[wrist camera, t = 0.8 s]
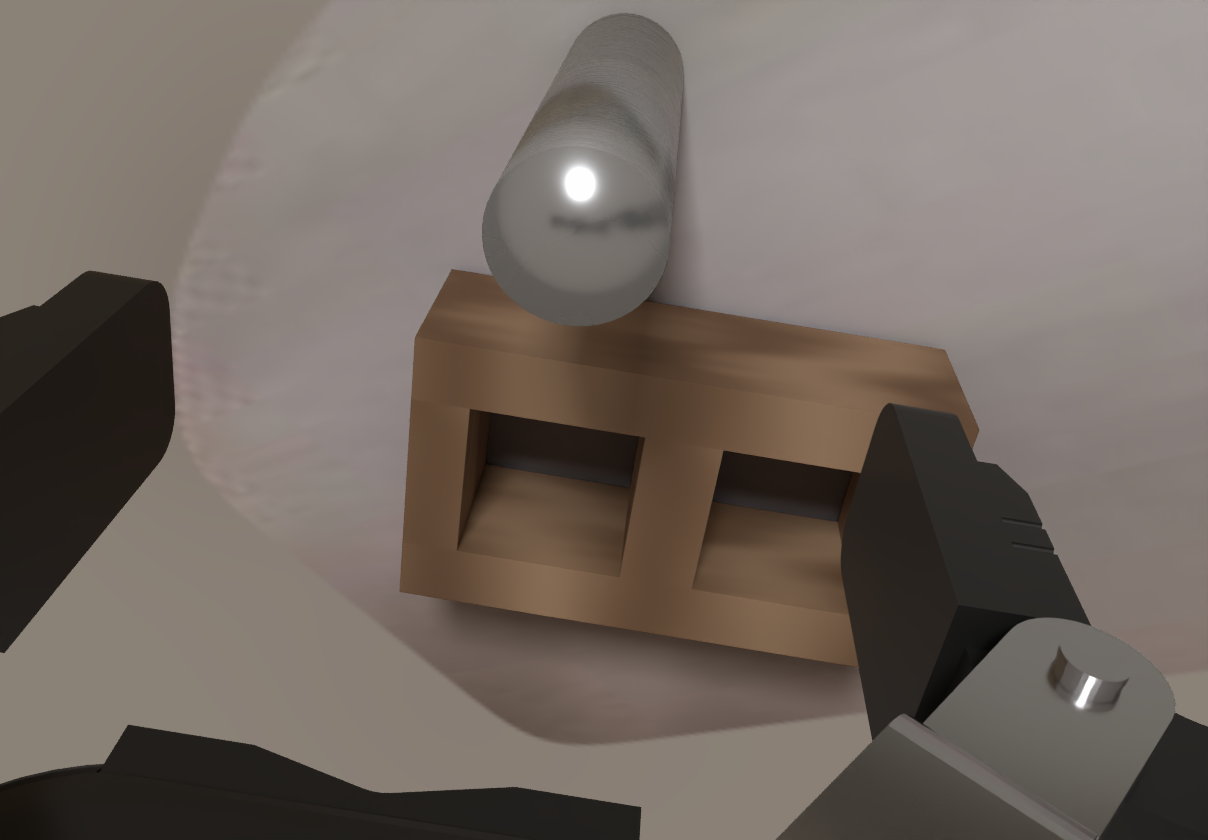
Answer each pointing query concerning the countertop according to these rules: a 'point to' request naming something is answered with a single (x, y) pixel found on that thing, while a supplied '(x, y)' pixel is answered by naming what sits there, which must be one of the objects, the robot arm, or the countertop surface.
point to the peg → (592, 179)
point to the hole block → (647, 466)
